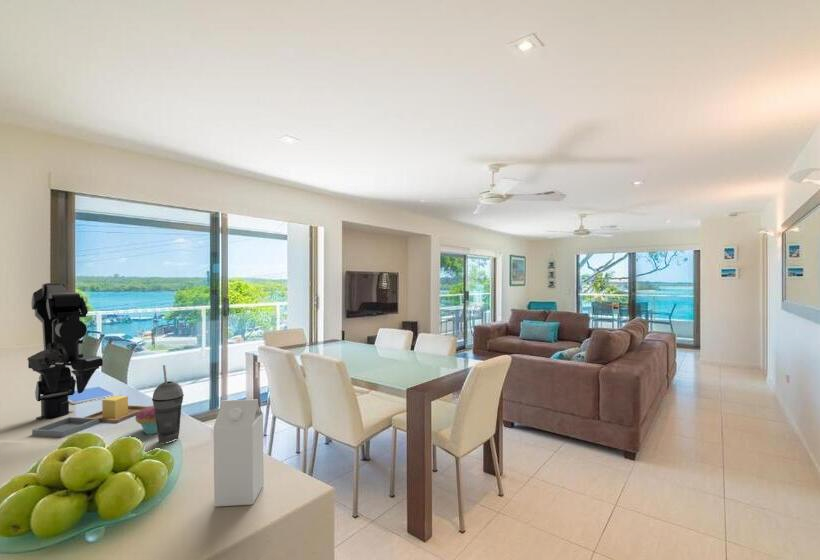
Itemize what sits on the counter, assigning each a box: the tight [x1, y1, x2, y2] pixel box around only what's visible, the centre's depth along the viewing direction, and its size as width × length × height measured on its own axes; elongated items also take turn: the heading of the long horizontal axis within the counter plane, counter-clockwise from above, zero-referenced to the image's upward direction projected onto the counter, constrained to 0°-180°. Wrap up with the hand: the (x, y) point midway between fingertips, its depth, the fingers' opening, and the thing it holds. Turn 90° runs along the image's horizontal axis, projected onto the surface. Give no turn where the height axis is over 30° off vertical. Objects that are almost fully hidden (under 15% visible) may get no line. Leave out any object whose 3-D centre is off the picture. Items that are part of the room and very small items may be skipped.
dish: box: [31, 416, 100, 438], centre depth 112 cm, size 10×10×2 cm
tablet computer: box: [68, 386, 116, 405], centre depth 147 cm, size 19×13×1 cm, turn 52°
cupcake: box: [134, 405, 158, 435], centre depth 111 cm, size 9×8×12 cm
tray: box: [82, 404, 151, 424], centre depth 124 cm, size 12×12×1 cm
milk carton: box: [213, 398, 265, 507], centre depth 78 cm, size 7×7×19 cm
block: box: [101, 395, 129, 419], centre depth 123 cm, size 4×4×6 cm
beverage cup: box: [151, 364, 184, 445], centre depth 105 cm, size 7×7×20 cm
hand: (66, 392), depth 112 cm, fingers open, 9 cm apart
